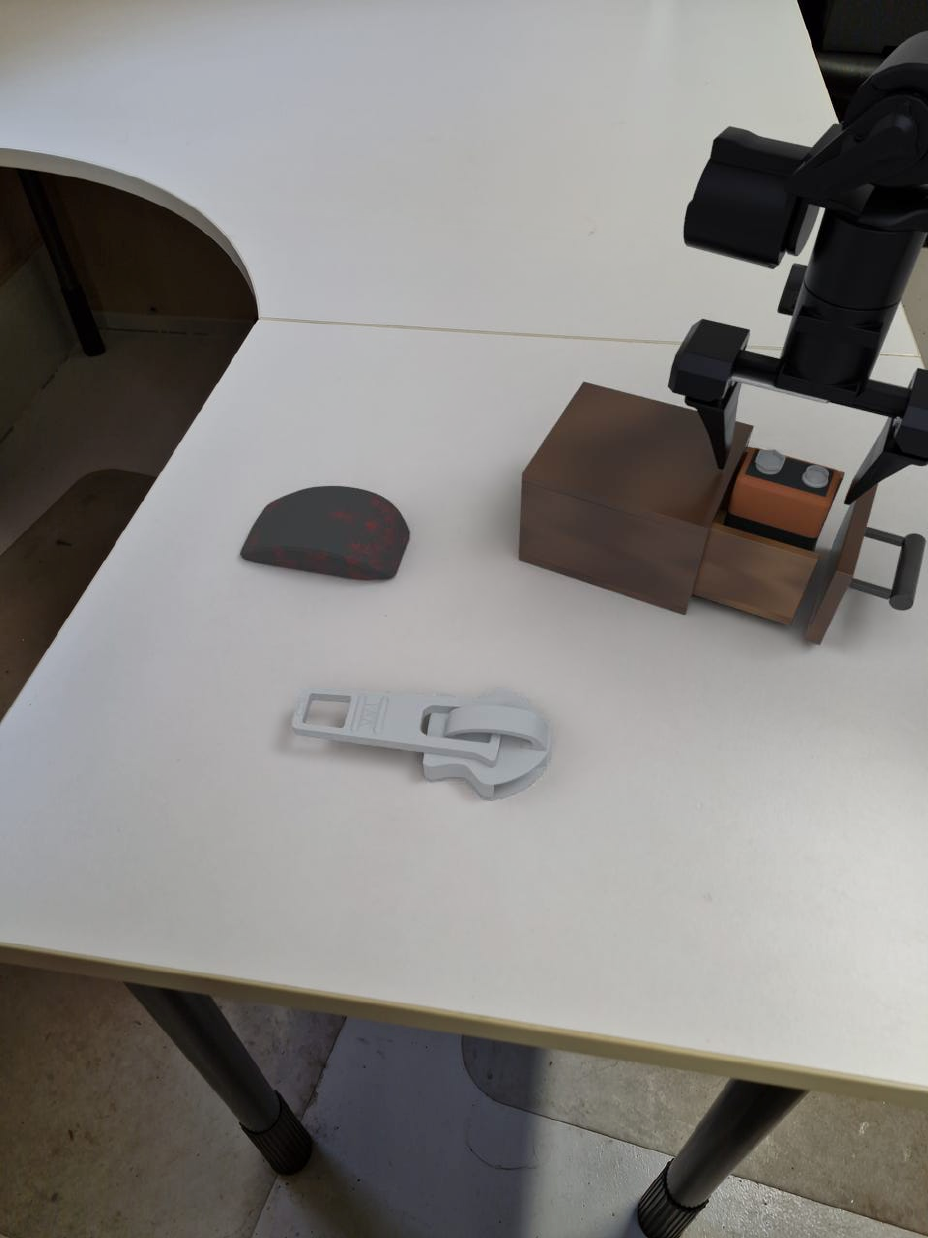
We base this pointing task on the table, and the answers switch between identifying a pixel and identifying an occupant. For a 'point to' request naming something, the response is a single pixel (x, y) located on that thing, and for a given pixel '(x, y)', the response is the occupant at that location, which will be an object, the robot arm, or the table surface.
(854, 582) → the drawer
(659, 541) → the cabinet
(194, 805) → the table surface
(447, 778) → the zipper pull
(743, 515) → the battery
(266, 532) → the dark grey half-round block
